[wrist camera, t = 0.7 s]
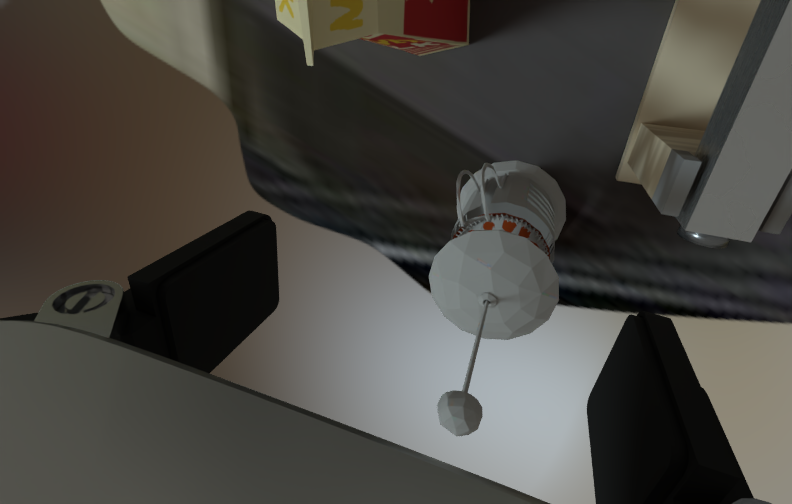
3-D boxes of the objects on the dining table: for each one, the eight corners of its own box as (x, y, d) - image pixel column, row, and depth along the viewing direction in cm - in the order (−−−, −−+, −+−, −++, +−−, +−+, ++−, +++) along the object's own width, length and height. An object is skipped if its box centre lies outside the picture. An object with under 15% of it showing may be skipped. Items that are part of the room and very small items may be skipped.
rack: (762, -252, 22) (959, -531, 11) (901, -264, 20) (1280, -599, 10) (615, 177, 33) (645, 237, 23) (697, 189, 32) (771, 261, 21)
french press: (473, 269, 41) (392, 503, 20) (436, 160, 37) (289, 306, 16) (577, 249, 37) (613, 521, 16) (547, 124, 33) (540, 260, 12)
